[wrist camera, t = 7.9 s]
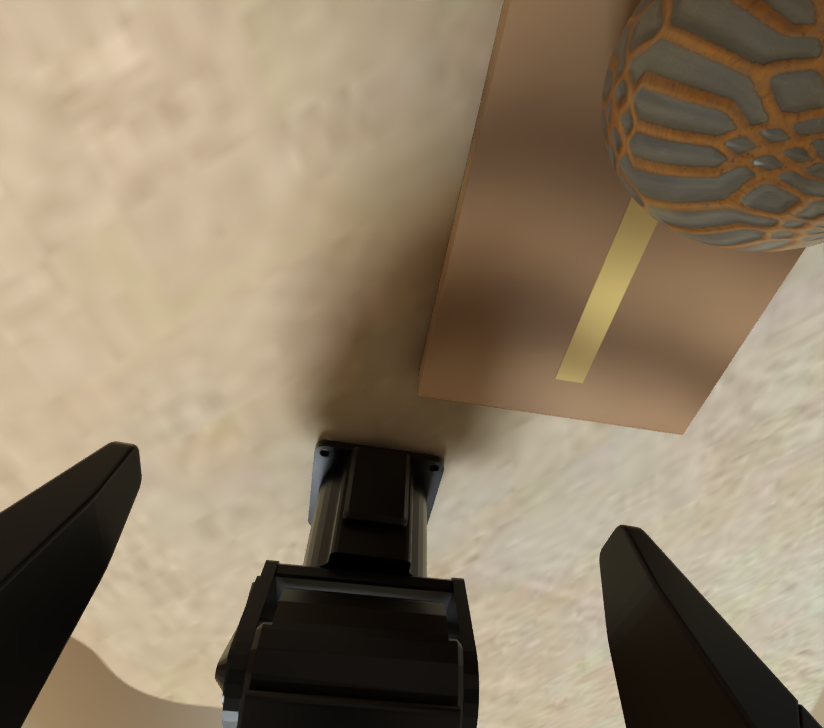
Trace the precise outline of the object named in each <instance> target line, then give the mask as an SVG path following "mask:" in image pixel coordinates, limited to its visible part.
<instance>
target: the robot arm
mask: <svg viewBox="0 0 824 728" xmlns="http://www.w3.org/2000/svg"><path fill="white" fill-rule="evenodd" d="M324 450H328V451H324ZM432 465H436V466H432ZM443 471H444V461H443V459H442V458H441V457H439V456H435V455H428V454H421V453H414V452H406V451H399V450H392V449H385V448H378V447H371V446H363V445H356V444H349V443H342V442H335V441H327V440H322V441H319V442H318V443H317V445H316V448H315V452H314V463H313V474H312V485H311V496H310V507H309V518H308V522H309V524H310V525H311V530H310V534H309V539H308V544H307V549H306V554H305V559H304V563H303V566H302V565H291V564H280V563H279V561H272V560H266V562H265V565H264V568H263V570H262V573H261V576H257V578H256V580H255V582H254V583H252V586H251V590H250V593H249V597H248V600H247V604H246V607H245V609H244V612H243V615H242V617H241V620H240V622H239V625H238V627H237V629H236V631H235V633H234V634H233V636H232V638H231V640H230V642H229V643H228V645H227V647H226V649H225V651H224V653H223V654H222V656H221V658H220V660H219V662H218V664H217V668H216V673H215V679H216V681H217V683H218V685H219V686H220V688H221V690H222V691H223V696H222V703H223V713H222V724H223V728H477V720H478V707H479V672H478V660H477V652H476V646H475V640H474V634H473V629H472V623H471V617H470V611H469V605H468V599H467V594H466V588H465V582H464V579H462V578H451V580H450V579H439V578H429V577H427V524H428V520H429V517H430V514H431V510H432V507H433V504H434V501H435V497H436V494H437V491H438V488H439V484H440V481H441V478H442V474H443ZM141 479H142V474H141V464H140V455H139V449H138V447H137V446H136V445H134V444H130V443H123V442H117V441H114V442H111V443H108V444H107V445H105V446H104V447H102V448H100V449H99V450H97V451H96V452H94V453H93V454H91V455H90V456H88V457H86V458H85V459H83V460H82V461H80V462H79V463H77V464H75V465H74V466H72V467H71V468H69V469H68V470H66V471H64V472H63V473H61V474H60V475H58V476H57V477H55V478H54V479H52V480H50V481H49V482H47V483H46V484H44V485H43V486H41V487H39V488H38V489H36V490H35V491H33V492H32V493H30V494H29V495H27V496H25V497H24V498H22V499H21V500H19V501H18V502H16V503H14V504H13V505H11V506H10V507H8V508H7V509H5V510H4V511H2V512H0V728H21V726H22V725H23V723H24V721H25V719H26V717H27V715H28V714H29V712H30V710H31V708H32V706H33V704H34V702H35V701H36V699H37V697H38V695H39V693H40V691H41V689H42V688H43V686H44V684H45V682H46V680H47V679H48V677H49V675H50V673H51V671H52V669H53V667H54V666H55V664H56V662H57V660H58V658H59V656H60V654H61V653H62V651H63V649H64V647H65V645H66V643H67V642H68V640H69V638H70V636H71V634H72V632H73V631H74V629H75V627H76V625H77V623H78V621H79V620H80V618H81V616H82V614H83V612H84V610H85V608H86V607H87V605H88V603H89V601H90V599H91V597H92V596H93V594H94V592H95V590H96V588H97V586H98V585H99V583H100V581H101V579H102V577H103V575H104V573H105V571H106V569H107V567H108V564H109V562H110V560H111V557H112V555H113V553H114V550H115V548H116V545H117V543H118V540H119V538H120V535H121V533H122V530H123V528H124V525H125V523H126V521H127V518H128V516H129V513H130V511H131V508H132V506H133V503H134V501H135V498H136V496H137V493H138V491H139V488H140V485H141ZM599 561H600V571H601V581H602V591H603V600H604V610H605V620H606V628H607V636H608V642H609V647H610V653H611V657H612V662H613V667H614V672H615V677H616V681H617V686H618V691H619V696H620V700H621V705H622V710H623V715H624V719H625V724H626V728H822V726H821V725H820V724H819V723H818V722H817V721H816V720H815V719H814V718H813V717H812V715H811V714H810V713H809V712H808V711H807V710H806V709H805V708H804V707H803V706H802V705H800V704H798V700H797V699H796V698H795V697H794V696H793V695H792V694H791V692H790V691H789V690H788V689H787V688H786V687H785V686H784V685H783V684H782V683H781V681H780V680H779V679H778V678H777V677H776V676H775V675H774V674H773V673H772V672H771V670H770V669H769V668H768V667H767V666H766V665H765V664H764V663H763V662H762V660H761V659H760V658H759V657H758V656H757V655H756V654H755V653H754V652H753V651H752V649H751V648H750V647H749V646H748V645H747V644H746V643H745V642H744V641H743V640H742V638H741V637H740V636H739V635H738V634H737V633H736V632H735V631H734V630H733V628H732V627H731V626H730V625H729V624H728V623H727V622H726V621H725V620H724V619H723V617H722V616H721V615H720V614H719V613H718V612H717V611H716V610H715V609H714V608H713V606H712V605H711V604H710V603H709V602H708V601H707V600H706V599H705V598H704V596H703V595H702V594H701V593H700V592H699V591H698V590H697V589H696V588H695V587H694V585H693V584H692V583H691V582H690V581H689V580H688V579H687V578H686V577H685V576H684V574H683V573H682V572H681V571H680V570H679V569H678V568H677V567H676V566H675V565H674V563H673V562H672V561H671V560H670V559H669V558H668V557H667V556H666V555H665V553H664V552H663V551H662V550H661V549H660V548H659V547H658V546H657V545H656V544H655V542H654V541H653V540H652V539H651V538H650V537H649V536H648V535H647V534H646V533H645V532H644V531H643V530H642V529H641V528H638V527H634V526H627V525H620V526H618V527H617V528H616V529H615V530H614V532H613V533H612V535H611V536H610V537H609V539H608V540H607V542H606V543H605V545H604V546H603V548H602V550H601V552H600V559H599Z"/></svg>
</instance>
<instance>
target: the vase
mask: <svg viewBox="0 0 824 728" xmlns="http://www.w3.org/2000/svg"><path fill="white" fill-rule="evenodd" d="M602 126H603V134H604V140H605V144H606V148H607V152H608V155H609V158H610V160H611V163H612V165H613V167H614V169H615V171H616V173H617V175H618V177H619V178H620V180H621V182H622V184H623V185H624V186H625V188H626V189H627V191H628V192H629V193H630V195H631V196H632V197H633V198H634V200H635V201H636V202H637V203H638V204H639V205H640V206H641V207H642V208H643V209H644V210H645V211H646V212H647V213H648V214H649V215H650V216H652V217H653V218H654V219H655V220H657V221H658V222H659V223H661V224H663V225H664V226H666V227H668V228H669V229H671V230H673V231H674V232H676V233H679V234H681V235H683V236H685V237H688V238H690V239H693V240H695V241H698V242H701V243H705V244H708V245H712V246H715V247H720V248H725V249H731V250H737V251H748V252H774V251H784V250H791V249H797V248H803V247H808V246H812V245H816V244H820V243H823V242H824V0H641V2H640V3H639V4H638V6H637V7H636V9H635V10H634V12H633V13H632V15H631V16H630V18H629V20H628V22H627V23H626V25H625V27H624V29H623V31H622V33H621V35H620V37H619V39H618V41H617V43H616V46H615V48H614V51H613V53H612V56H611V59H610V62H609V65H608V69H607V72H606V77H605V82H604V87H603V94H602Z"/></svg>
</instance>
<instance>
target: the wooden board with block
mask: <svg viewBox="0 0 824 728" xmlns="http://www.w3.org/2000/svg"><path fill="white" fill-rule="evenodd" d="M640 2H641V0H504V2H503V7H502V11H501V15H500V20H499V24H498V29H497V33H496V37H495V42H494V46H493V51H492V55H491V59H490V64H489V68H488V72H487V77H486V81H485V86H484V90H483V94H482V99H481V103H480V107H479V112H478V116H477V121H476V125H475V129H474V134H473V138H472V143H471V147H470V151H469V156H468V160H467V164H466V169H465V173H464V178H463V182H462V186H461V191H460V195H459V199H458V204H457V208H456V213H455V217H454V221H453V226H452V230H451V235H450V239H449V243H448V248H447V252H446V256H445V261H444V265H443V270H442V274H441V278H440V283H439V287H438V292H437V296H436V300H435V305H434V309H433V313H432V318H431V322H430V327H429V331H428V335H427V340H426V344H425V348H424V353H423V357H422V362H421V366H420V370H419V378H418V396H422V397H429V398H436V399H443V400H449V401H456V402H463V403H470V404H476V405H483V406H490V407H497V408H503V409H510V410H517V411H524V412H530V413H537V414H544V415H551V416H557V417H564V418H571V419H578V420H584V421H591V422H598V423H605V424H611V425H618V426H625V427H632V428H638V429H645V430H652V431H659V432H665V433H672V434H679V435H683V434H684V432H685V431H686V429H687V428H688V426H689V425H690V423H691V421H692V420H693V418H694V417H695V415H696V414H697V412H698V411H699V409H700V408H701V406H702V405H703V403H704V402H705V400H706V399H707V397H708V396H709V394H710V393H711V391H712V389H713V388H714V386H715V385H716V383H717V382H718V380H719V379H720V377H721V376H722V374H723V373H724V371H725V370H726V368H727V367H728V365H729V364H730V362H731V361H732V359H733V357H734V356H735V354H736V353H737V351H738V350H739V348H740V347H741V345H742V344H743V342H744V341H745V339H746V338H747V336H748V335H749V333H750V332H751V330H752V329H753V327H754V325H755V324H756V322H757V321H758V319H759V318H760V316H761V315H762V313H763V312H764V310H765V309H766V307H767V306H768V304H769V303H770V301H771V300H772V298H773V296H774V295H775V293H776V292H777V290H778V289H779V287H780V286H781V284H782V283H783V281H784V280H785V278H786V277H787V275H788V274H789V272H790V271H791V269H792V268H793V266H794V264H795V263H796V261H797V260H798V258H799V257H800V255H801V254H802V252H803V251H804V249H805V248H806V247H803V248H797V249H791V250H784V251H774V252H748V251H737V250H731V249H725V248H720V247H715V246H712V245H708V244H705V243H701V242H698V241H695V240H693V239H690V238H688V237H685V236H683V235H681V234H679V233H676V232H674V231H673V230H671V229H669V228H668V227H666V226H664V225H663V224H661V223H659V222H658V221H657V220H655V219H654V218H653V217H652V216H650V215H649V214H648V213H647V212H646V211H645V210H644V209H643V208H642V207H641V206H640V205H639V204H638V203H637V202H636V201H635V200H634V198H633V197H632V196H631V195H630V193H629V192H628V191H627V189H626V188H625V186H624V185H623V184H622V182H621V180H620V178H619V177H618V175H617V173H616V171H615V169H614V167H613V165H612V163H611V160H610V158H609V155H608V152H607V148H606V144H605V140H604V134H603V126H602V94H603V87H604V82H605V77H606V72H607V69H608V65H609V62H610V59H611V56H612V53H613V51H614V48H615V46H616V43H617V41H618V39H619V37H620V35H621V33H622V31H623V29H624V27H625V25H626V23H627V22H628V20H629V18H630V16H631V15H632V13H633V12H634V10H635V9H636V7H637V6H638V4H639V3H640Z"/></svg>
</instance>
